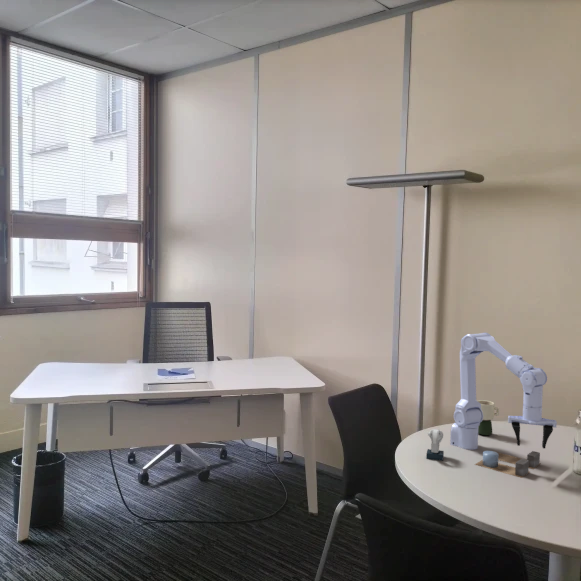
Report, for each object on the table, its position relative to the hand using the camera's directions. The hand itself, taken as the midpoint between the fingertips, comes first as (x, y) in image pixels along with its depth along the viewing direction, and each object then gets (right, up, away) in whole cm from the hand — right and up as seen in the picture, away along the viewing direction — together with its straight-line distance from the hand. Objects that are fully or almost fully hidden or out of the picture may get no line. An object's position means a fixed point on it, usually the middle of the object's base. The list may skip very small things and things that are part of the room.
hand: (531, 446), depth 183 cm
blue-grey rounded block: (-11, -8, +6) cm, 15 cm away
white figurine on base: (-28, -9, +12) cm, 32 cm away
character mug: (-1, -7, +41) cm, 42 cm away
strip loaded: (-8, -9, +3) cm, 13 cm away
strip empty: (-2, -9, +10) cm, 14 cm away
